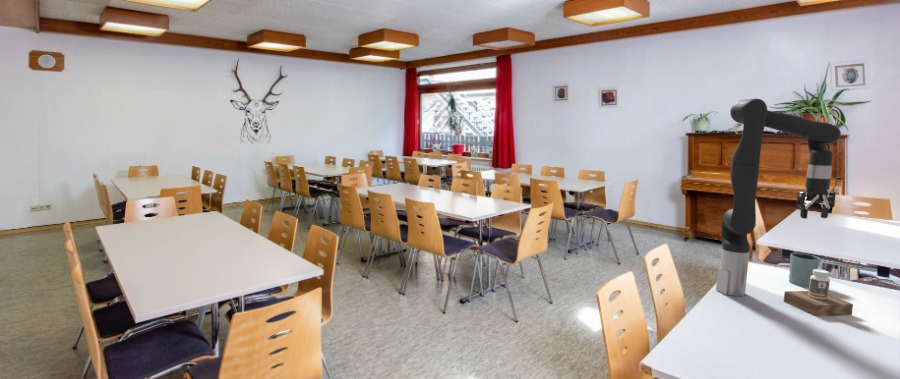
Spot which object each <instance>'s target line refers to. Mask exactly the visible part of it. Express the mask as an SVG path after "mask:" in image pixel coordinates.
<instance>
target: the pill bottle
mask: <svg viewBox="0 0 900 379" xmlns="http://www.w3.org/2000/svg"><path fill="white" fill-rule="evenodd" d="M829 276H830V272H829V271H828V270H825V269H819V268H818V269H813V275H812V276H811V277H810V284H809V287H808V291H809V292H808V295H809V296H810V297H812V298H815V299H821V300H825V299H827V298H828V295H829V291H830V284H831V281H830V280H831V279H830V278H829Z"/></svg>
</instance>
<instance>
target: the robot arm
mask: <svg viewBox="0 0 900 379" xmlns="http://www.w3.org/2000/svg"><path fill="white" fill-rule="evenodd" d="M729 113H730V117H731V119H732V120H733V121H734V122H735V123H738V124H742V125H743V127H742V128H743V129H742V135H741V139H740V141H739V144H738V145H737V147H736V149H735V150H734V152H733V155H732V158H731V164H730V173H729V174H730V175H729V176H730V181H731V182H730V184H731V187H732V192H733V207H732V208H730V209H729V210H727V211H726V212H725V213H724V215H723V217H722V219H721V220H722V222H721V234H720V235H721V236H720V237H721V238H720V239H721V243H722V244H721V245H722V246H721V248H722V249H721V258H720V259H721V260H720V266H718V267H717V272H716V273H717V274H716V286H715V290H716V291H718V292H719V293H722V294H723V295H726V296H732V297H733V296H735V297H742V296H745V295H746V288H747V278H748V269H749V259H750V252H751V245H750V243H749V240H748V235H750V234H751V233H752V232H753V231H754V230H755V227H756V225H757V224H756V223H757V214H756V213H757V212H756V201H757V200H756V198H757V190H758V179H759V175H760V174H759V173H760V164H761V163H760V162H761V151H762V144H763V136H764V131H765V128H769V129H771V130H776V131H778V132H782V133H786V134H788V135H791V136H794V137H799V138H806V140H807V141H806V142H807V146H808V151H809V160H808V167H807V170H806V178H805V186H804V187H805V189H806V191H798V192H797V195H796V196H797V197H796V203H795V206H796V207H798V208H800V214H799V215H800V218H801V219H805V220H807V219H808V215H809V214H808V213H809V212H808V211H809V209H808V208H810V207H811V205H813V204H820V207H821V210H820V218H821V219H827V218H828V217H829V213H830V212H829V210H830V209H831V208H834V207H835V204H836V192H835V191H830V188H831V179H832V165H833V158H834V157H833V152H832V151H831V150H830V149H828V148H827V146H826V144H833V143H836V142H838V140H839V139H840V138H841V130H840V129H839V127H838V126H836V125H834V124H831V123H826V122H821V121H817V120H815V121H814V120H811V119H808V118H806V117H805V118H804V117H802V116H798V115H795V114H790V113H789V114H788V113H783V112H777V111H772V110H769V109H768V106H767V104H766V102H765V101H764V100H763V99H761V98H748V99H740V100H739V101H738V100H737V101H736V102H735V103H734V104H733V105H732V106H731V108H730V112H729Z"/></svg>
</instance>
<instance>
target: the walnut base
mask: <svg viewBox="0 0 900 379" xmlns="http://www.w3.org/2000/svg"><path fill="white" fill-rule="evenodd" d="M808 292H809V290H792V291H791V290H790V291H785V290H784V295H783V302H784V303H785V304H788V305H790V306H793V307H795V308H797V309H799V310H801V311H803V312H805V313H807V314H810V315H811V316H813V317H833V316H834V317H835V316H837V317H838V316H852V315H853V309H854V308H853V307H854V304H853V303H851V302H849V301H845V300H843V299H841V298H839V297H836V296H834V295H831V294H828V298H827V299H825V300H821V299H815V298H812V297H810V296H809V295H808Z"/></svg>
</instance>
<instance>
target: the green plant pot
mask: <svg viewBox="0 0 900 379" xmlns="http://www.w3.org/2000/svg"><path fill="white" fill-rule="evenodd" d="M789 257H790V258H789V259H790V260H789V276H788V282H789V283H790V284H792V285H795V286H799V287H805V288H806V287H807V288H809V284H810V277H811V276H812V275H813V269H819V265H820V263H821V262H820V261H821V258H820V257H819V256H816V255H813V254H809V253H802V252H801V253H800V252H791V253H790V256H789Z"/></svg>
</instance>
